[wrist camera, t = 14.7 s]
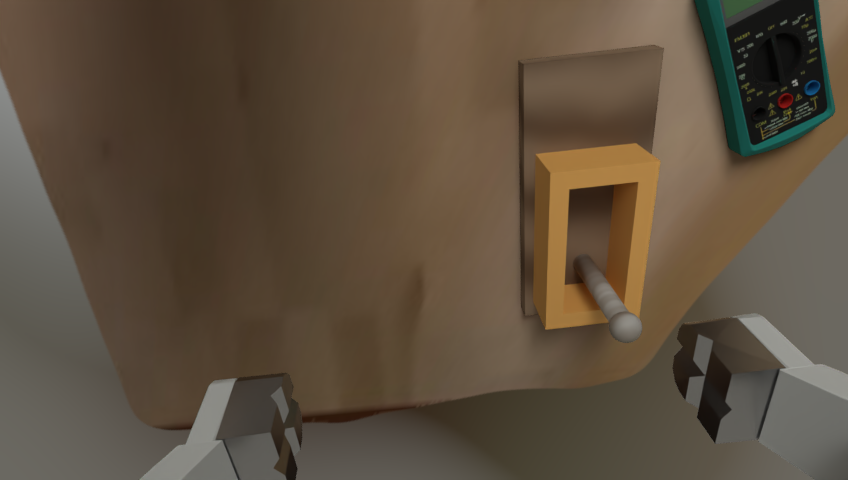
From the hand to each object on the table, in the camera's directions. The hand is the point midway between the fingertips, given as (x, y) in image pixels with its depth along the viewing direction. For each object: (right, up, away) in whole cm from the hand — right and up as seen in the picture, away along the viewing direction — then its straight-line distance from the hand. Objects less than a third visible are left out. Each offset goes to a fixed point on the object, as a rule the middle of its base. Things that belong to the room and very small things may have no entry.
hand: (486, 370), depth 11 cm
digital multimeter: (+23, +17, +29) cm, 41 cm away
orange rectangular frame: (+12, +4, +33) cm, 35 cm away
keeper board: (+12, +7, +33) cm, 35 cm away
